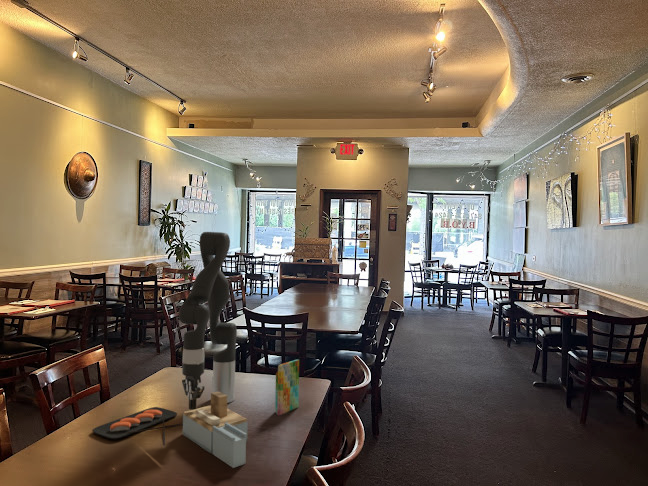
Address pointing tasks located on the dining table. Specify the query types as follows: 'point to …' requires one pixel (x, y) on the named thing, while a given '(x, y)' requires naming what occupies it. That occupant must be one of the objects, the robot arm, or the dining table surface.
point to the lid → (217, 412)
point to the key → (208, 417)
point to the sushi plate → (136, 423)
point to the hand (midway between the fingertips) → (192, 409)
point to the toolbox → (220, 440)
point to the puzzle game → (287, 387)
